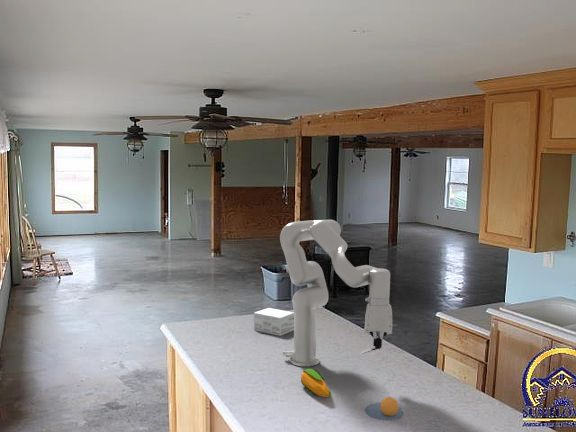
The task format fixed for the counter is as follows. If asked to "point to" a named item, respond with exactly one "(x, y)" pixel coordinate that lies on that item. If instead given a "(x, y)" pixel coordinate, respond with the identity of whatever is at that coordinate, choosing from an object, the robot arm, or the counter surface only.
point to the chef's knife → (366, 350)
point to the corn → (315, 383)
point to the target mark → (376, 412)
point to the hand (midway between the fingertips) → (377, 348)
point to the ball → (389, 406)
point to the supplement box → (274, 321)
